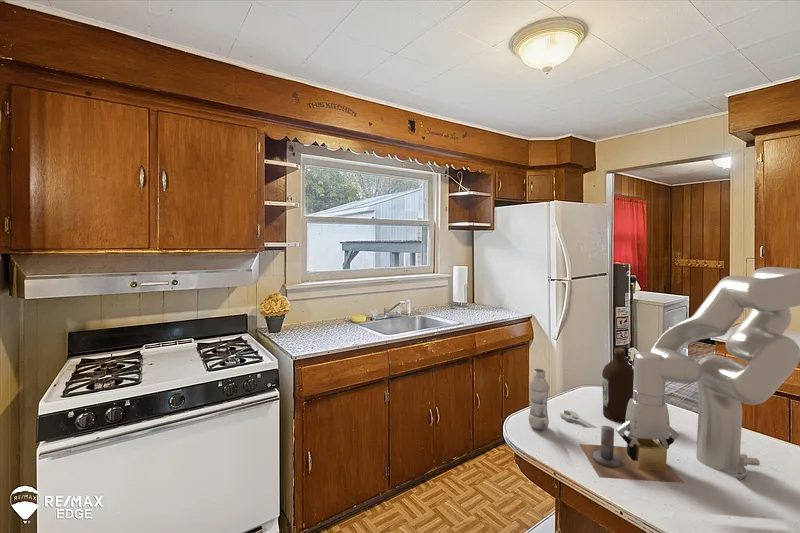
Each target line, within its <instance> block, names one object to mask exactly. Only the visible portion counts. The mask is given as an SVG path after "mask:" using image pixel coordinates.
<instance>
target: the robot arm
mask: <svg viewBox="0 0 800 533" xmlns="http://www.w3.org/2000/svg"><path fill="white" fill-rule="evenodd" d="M799 306H800V268H792V267H791V268H790V267H779V266H778V267H777V266H766V267H760V268H757V269H755V270H754V271H753V272H752V273H751V274H750V276H745V275H729V276H728V275H727V276H725V277H723V278H721V280H719V282H718V283H717V284H716V285H715V286H714V288H713V289H712V290H711V291H710V293H709V294H708V295H707V297H706V298H705V300H704V301H703V302H702V303H701V304H700V306H699V307H698V308H697V309H696V311H695V313H694V314H693V315H691V316H690V317H689V318H686V319H685V320H683V321H680V322H679V323H677V324H676V325H673V326H672V327H670V328H669V329H667V330H666V331H665V332H664V333H662V334H661V336H660V337H659V338H658V339H657V341H655V343H654V345H653V346H652V347H651V350H650V351H641V352H640V351H639V352H637V353H636V354H635V355H634V359H633V361H634V362H633V370H634V380H633V398H631V399H630V400H629V402H628V406H627V411H626V418H625V423H622V424H621V425H620V426H618V427H617V428H616V429H615V432H617V433H618V435H619V436H620V437H621V438H622V439H623V441H625V443H626V447H627V454H628V456H629V457H630V458H631V459H632V460H633V461H635V456H636V447H635V446H634V445H635V443H636V441H637V440H638V438H639V439H656V440H658V441H659V442H660V443H661V444H662V445H663V446H664V447H665V448H666V449H667V450H669V448H670V446H671V445H672V444H674V442H675V440H677V439H678V438H679V437H680V433H678V432H677V431H676V430H675V429H674V428H672V427H671V424H670V423H671V422H670V415H669V414H670V413H669V408H668V405H667V403H666V400H670V398H671V395H670V394H669V393H666V383H667V382H670V383H677V384H686V385H688V384H689V385H690V384H694V383H697V389H698V413H697V430H696V431H697V435H696V436H697V437H696V452H695V453H696V454H695V457H696V460H698V462H699V463H701V464H702V465H704V466H706V467H708V468H711V469H713V470H717V471H721V472H725V473H726V472H727V473H729V474H731V475H732V477H734V478H735V479H736V480H742V479H744V478H747V475H748V474H747V472H748V470H747V468H746V467H747V466H760V465H761V463H760V459H759V458H757V457H748V455H747V454H746V453H741V444H742V442H741V441H742V440H741V439H742V427H743V426H742V424H743V406H742V404H745V405H750V406H751V405H752V406H756V405H757V406H758V405H761V404H763V403H765V402H766V401H768V399H770V398H771V397H772V396H774V395H773V394H775V392H776V391H777V390H778V389H780V387H781V386H782V385H783V384H784V383H785V382H786V380H787V379H788V378H790V376H791V375H792V374H793V372H794V371H795V369H797V367H798V365H799V364H800V347H799V345H798V343H797V342H796V341H795V340H794V339H793V338H791V337H788V336H786V335H784V334H785V332H786V331H787V329H788V328H789V326H790V324H791V321H792V314H791V309H790V308H794V307H799ZM747 309H748V310H750V311H749V312H748V313H747V314H746V316H745V317H744V319H743V320H742V321H741V322H740V323H739V325H737V326H736V327H735V329H733V331H732V332H731V334H730V335H729V336H728V338H727V339H726V342H725V349H726V350H727V352H728V353H729V354H730V355H732V356H733V357H735V358H737V359H739V360H742V361H744V362H747V363H748V364H745V363H742V362H740V361H737V360H734V359H732V358H728V357H725V356H722V355H717V354H710V355H707V356H704V357H702V358H701V359H700V360H699V361H697V360H696V359H695V358H693V357H690V356H688V355H687V354H684V353H681V352H682V351H683V350H684V349H685V348H686V347H688V346H689V345H690V344H692V343H695V342H697V341H701V340H705V339H706V340H707V339H713V338H718V337H722V336H725V335H727V334H728V332H730V330H731V328H732V327H733V326H734V324H736V322H737V320H739V318H740V317H741V316H742V314H743V313H744V312H745V311H746V310H747ZM626 431H627V432H628V434H627V435H626V434H625V432H626Z"/></svg>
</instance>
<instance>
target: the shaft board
mask: <svg viewBox="0 0 800 533" xmlns="http://www.w3.org/2000/svg"><path fill="white" fill-rule="evenodd" d="M600 427H601V430H600V434H601V435H600V436H601V437H600V445H599V444H586V443H585V444H583V443H579V444H578V445H579V446H580V448H581V449H582V452H583V453H584V455H585V456H586V458H587V460H588V461H589V463H590V465H591V466H592V468H593V469H594V471H595V473H596V474H597V476H598V477H599V478H604V479H605V478H606V479H607V478H608V479H621V480H633V481H634V480H635V481H648V482H649V481H650V482H665V483H677V484H685V481H683V479H682V478H681V477H680V476H679V475H678V474H677V473H676V471H675V470H673V469H672V468H671V466H670V465H669V464H668V463H667V462H666V471H657V470H642V469H638V468H637V467H636V466H635V464H634V463H633V462H632V460H631V459H630V458H629V457H628V455H627V446H617V445H614V444H615V443H614V442H615V428H614V427H612V426H610V425H602V426H600Z"/></svg>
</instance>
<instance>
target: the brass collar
mask: <svg viewBox="0 0 800 533" xmlns="http://www.w3.org/2000/svg"><path fill="white" fill-rule="evenodd" d="M634 446H635V447H636V456H635V461H633V460H632V459H631V458H630V457H629V456H628V457H629V458H630V459H631V460H632V462H633V463H634V464H635V466H636V467H637V468H638V469H642V470H657V471H666V463H667V454H668V449H666V448H665V447H664V446H663V445H662V444H661V443H660V442H659V440H656V439H639V438H638V440H637V441H636V443H635V445H634ZM627 455H628V454H627Z"/></svg>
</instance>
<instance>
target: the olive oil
mask: <svg viewBox="0 0 800 533" xmlns="http://www.w3.org/2000/svg"><path fill="white" fill-rule="evenodd" d="M625 351H626V350H625V349H624V348H620V347H616V348H614V351H613V359H612V360H610V362H608V363H607V364H605V366H604V367H603V370H602V372H601V379H602V380H601V382H602V385H601V386H602V414H603V417H605V418H606V419H608V420H610V421H613V422H616V423H622V424H624V423H625V418H626V411H627V406H628V402H629V400H630V399H631V398H633V380H634V368H632V367H631V366H630V364H629V363H628V362H627V361H626V360H625V358H626V353H625Z"/></svg>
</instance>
